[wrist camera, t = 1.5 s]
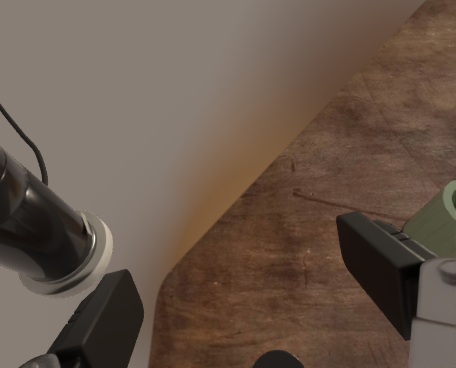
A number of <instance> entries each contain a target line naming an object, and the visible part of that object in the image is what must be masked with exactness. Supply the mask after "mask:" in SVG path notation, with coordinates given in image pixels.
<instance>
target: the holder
mask: <svg viewBox="0 0 456 368" xmlns="http://www.w3.org/2000/svg"><path fill="white" fill-rule="evenodd" d="M403 233H405V234H406V235H408V236H409V237H410V238H411V239H414V240H415V241H417V242H418V243H420V244H421V245H423V246H424V247H426V248H427V249H429V250H430V251H432V252H433V253H435V254H436V255H438V256H439V257H456V180H454V181H451V182H450V183H449V184H448V185H447V186H445V187H444V188H443V189H442V190H441V191H440V192H439V193H438V194H437V195H436V196H435V197H433V198H432V199H431V200H430V201H429V202H428V203H427V204H426V205H425V206H424V207H423V208H421V209H420V210H419V211H418V212H417V213H416V214H415V215H414V216H413V217H412V218H411V219H409V220H408V222H407V223H406V224H405V226H404V229H403Z"/></svg>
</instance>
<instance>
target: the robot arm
mask: <svg viewBox="0 0 456 368" xmlns="http://www.w3.org/2000/svg"><path fill="white" fill-rule="evenodd" d="M0 111H1V112H2V114H3V115H4V116H5V118H6V119H7V120H8V121H9V123H10V124H11V125H12V126H13V128H14V129H15V130H16V131H17V132H18V133H19V135H20V136H21V137H22V139H23V140H24V141H25V142H26V143H27V144H28V145H29V146H30V147H31V148H32V149H33V151H34V152H35V155H36V157H37V160H38V163H39V166H40V170H41V174H42V182H41V181H40V180H39V179H38V178H37V177H35V176H34V175H33V174H32V173H31V172H30V171H29V170H27V169H26V168H25V167H24V166H23V165H22V164H20V163H19V162H18V161H17V160H16V159H14V158H13V157H12V156H11V155H10V154H9V153H8V152H6V151H5V150H4V149H3V148H2V147H1V146H0V266H2V267H4V268H7V269H9V270H12V271H15V272H17V273H19V274H22V275H24V276H27V277H30V278H31V279H33V280H35V281H37V282H40V283H43V284H58V283H62V282H65V281H67V280H69V279H71V278H73V277H74V276H76V275H77V274H78V273H80V272H81V271H82V270H83V269H84V268H85V267H86V266H87V264H88V263H89V262H90V260H91V258H92V257H93V255H94V252H95V249H96V245H97V234H96V231H95V229H94V227H93V226H92V224H91V223H90V222H88V221H87V220H86V217H85V215H84V214H83V213H82V212H81V215H82V217H81V216H80V215H79V214H78V213H77V212H76V211H75V210H74V209H72V208H71V207H70V206H69V205H68V204H67V203H66V202H64V201H63V200H62V199H61V198H60V197H59V196H57V195H56V194H55V193H54V192H53V191H52V190H51V189H49V188H48V187H47V186H48V176H47V171H46V167H45V164H44V161H43V158H42V156H41V153H40V151H39V150H38V149H37V147H36V146H35V145H34V143H33V142H32V141H31V140H30V139H29V138H28V137H27V136H26V135H25V134H24V133H23V132H22V130H21V129H20V128H19V127H18V125H17V124H16V123H15V122H14V121H13V119H12V118H11V117H10V116H9V115H8V113H7V112H6V111H5V109H4V108H3V107H2V106H1V104H0ZM336 224H337V230H338V236H339V242H340V248H341V254H342V258H343V261H344V263H345V265H346V267H347V269H348V270H349V272H350V273H351V274H352V275H353V277H354V278H355V279H356V280H357V282H358V283H359V284H360V285H361V287H362V288H363V289H364V290H365V291H366V293H367V294H368V295H369V296H370V298H371V299H372V300H373V301H374V303H375V304H376V305H377V306H378V308H379V309H380V310H381V311H382V312H383V314H384V315H385V316H386V317H387V319H388V320H389V321H390V322H391V324H392V325H393V326H394V327H395V329H396V330H397V331H398V332H399V333H400V335H401V336H402V337H403V338H404V340H405V341H407V340H411V341H410V353H409V364H408V368H456V257H439V256H438V255H436V254H435V253H433V252H432V251H430V250H429V249H427V248H426V247H424V246H423V245H421V244H420V243H418V242H417V241H415V240H414V239H411V238H410V237H409V236H408V235H406V234H405V233H402V231H400V230H399V229H397V228H396V227H395V226H393V225H392V224H389V223H385V222H382V221H379V220H375V221H371V220H370V219H369V218H367V217H366V216H365V215H363V214H362V213H360V212H359V211H355V212H351V213H347V214H343V215H339V216H337V218H336ZM143 318H144V309H143V304H142V301H141V299H140V296H139V294H138V291H137V289H136V286H135V284H134V281H133V279H132V276H131V274H130V272H129V271H128V270H127V269H124V270H120V271H116V272H112V273H108V274H105V276H104V277H103V278H102V280H101V281H100V283H99V284H98V286H97V287H96V289H95V290H94V291H93V292H91V293H90V294H89V295H88V296H87V297H86V298H85V299H84V300H83V301H82V302H81V303H80V305H79V306H78V308H77V309H76V311H75V312H74V314H73V315H72V316H71V318H70V319H69V321H68V324H66V325H65V326H64V328H63V329H62V331H61V332H60V334H59V335H58V337H57V338H56V340H55V341H54V343H53V344H52V346H51V347H50V348H49V350H48V352H47V353H46V354H44V355H40V356H38V357H35V358H33V359H31V360H30V361H28V362H26V363H25V364H23V365H22V366H20V367H19V368H127V367H128V364H129V361H130V358H131V355H132V352H133V349H134V346H135V343H136V340H137V337H138V334H139V331H140V328H141V325H142V322H143Z"/></svg>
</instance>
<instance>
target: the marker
mask: <svg viewBox="0 0 456 368" xmlns="http://www.w3.org/2000/svg"><path fill="white" fill-rule="evenodd" d="M253 368H305V367H304V365H303V364H302V362H301V361H300V360H299V359H298V358H297V357H296V356H294V355H293V354H291V353H289V352H287V351H283V350H272V351H269V352H266V353H265V354H263V355H262V356H261V357H259V359H258V360H257V361H256V362H255V364H254V365H253Z"/></svg>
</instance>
